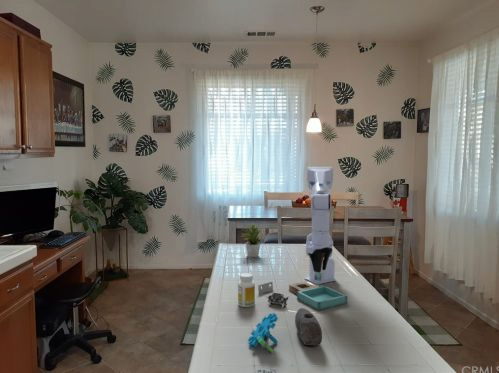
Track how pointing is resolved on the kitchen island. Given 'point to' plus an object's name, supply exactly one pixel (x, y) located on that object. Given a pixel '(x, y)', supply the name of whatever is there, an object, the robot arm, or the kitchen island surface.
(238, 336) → the kitchen island surface
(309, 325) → the perforated stone tool
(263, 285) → the bracket
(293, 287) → the socket
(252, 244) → the house plant
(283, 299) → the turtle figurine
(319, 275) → the pin
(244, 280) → the supplement bottle
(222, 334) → the kitchen island surface
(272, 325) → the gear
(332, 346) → the kitchen island surface
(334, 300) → the tray
